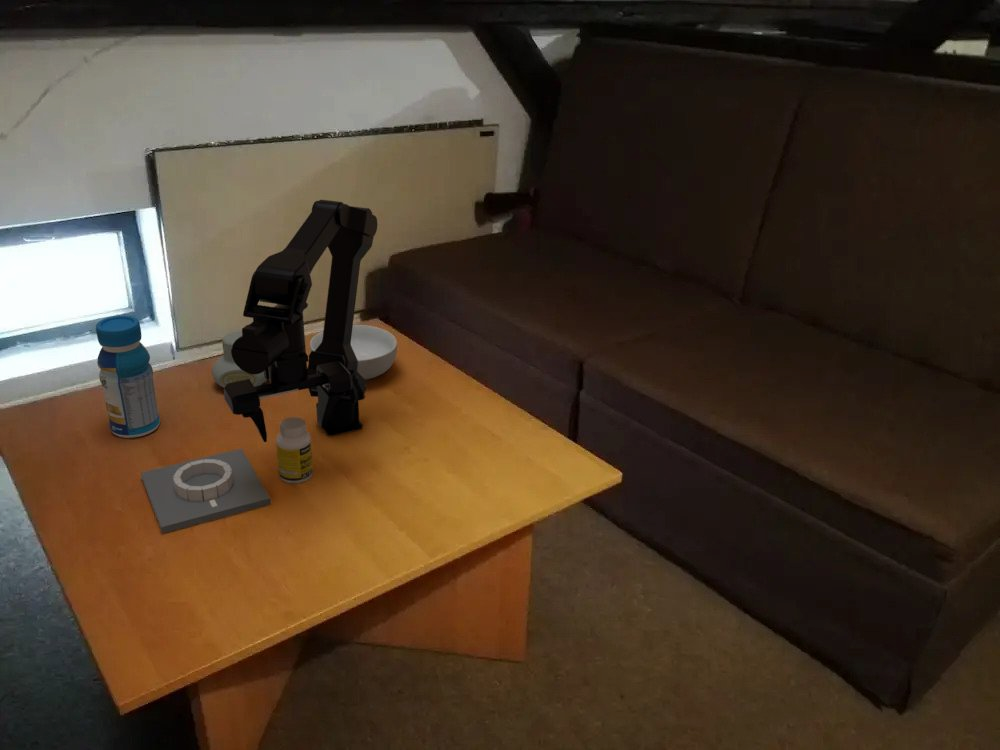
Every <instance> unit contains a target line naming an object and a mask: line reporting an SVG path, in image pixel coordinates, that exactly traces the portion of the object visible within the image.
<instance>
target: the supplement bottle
mask: <svg viewBox="0 0 1000 750" xmlns="http://www.w3.org/2000/svg"><path fill="white" fill-rule="evenodd" d="M275 439H276V440H275V442H276V445H275V446H276V453H277V454H276V455H277V466H278V467H277V469H278V470H277V471H278V477H279V479H280V480H281V481H282V482H285V483H287V484H302V483H304V482H307V481H309V480H310V479H311V477H312V476H313V473H314V470H313V468H314V467H313V452H312V437H311V434H310V433H309V432H308V431H307V424H306V421H305V419H303V418H302V417H298V416H295V417H294V416H291V417H287V418H284V419H282V420H281V421H280V422H279V433H278V435H277V436H276V438H275Z"/></svg>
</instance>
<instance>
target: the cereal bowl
mask: <svg viewBox="0 0 1000 750" xmlns="http://www.w3.org/2000/svg"><path fill="white" fill-rule="evenodd" d="M322 339H323V330H321V331H319V332H317V334H315V335H314V336H313V337H312V338H311V339H310V342H309V349H310V350H309V353H311V351H315V350H316V349H317V347H318V346H319V345H320V344H321V342H322ZM351 347H352V349H353V351H354V353H355V356H356V358H357V360H358V368H357V372H358V373H359V374H360V375H361V376H362V377H363V378H364V379H365V380H366V381H367V380H370V379H374V378H376V377H379V376H381V375H383V374H384V373H385V372H387V371H388V370H389V369H390V368H391V366H393V364H394V362H395V360H396V357H397V353H398V340H397V338H396V337H395V336H394V334H392V333H391V332H389V331H388V330H386V329H383V328H380V327H376V326H373V325H367V324H366V325H365V324H353V327H352V336H351Z"/></svg>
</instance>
